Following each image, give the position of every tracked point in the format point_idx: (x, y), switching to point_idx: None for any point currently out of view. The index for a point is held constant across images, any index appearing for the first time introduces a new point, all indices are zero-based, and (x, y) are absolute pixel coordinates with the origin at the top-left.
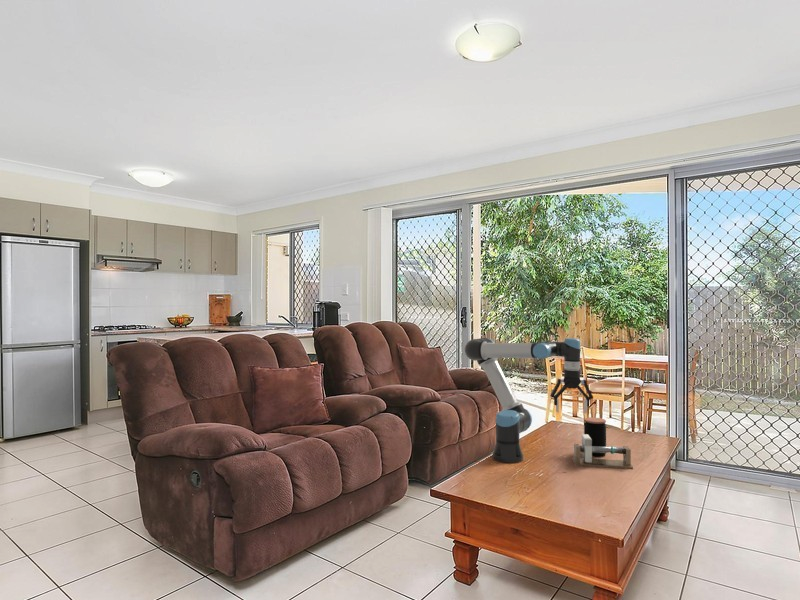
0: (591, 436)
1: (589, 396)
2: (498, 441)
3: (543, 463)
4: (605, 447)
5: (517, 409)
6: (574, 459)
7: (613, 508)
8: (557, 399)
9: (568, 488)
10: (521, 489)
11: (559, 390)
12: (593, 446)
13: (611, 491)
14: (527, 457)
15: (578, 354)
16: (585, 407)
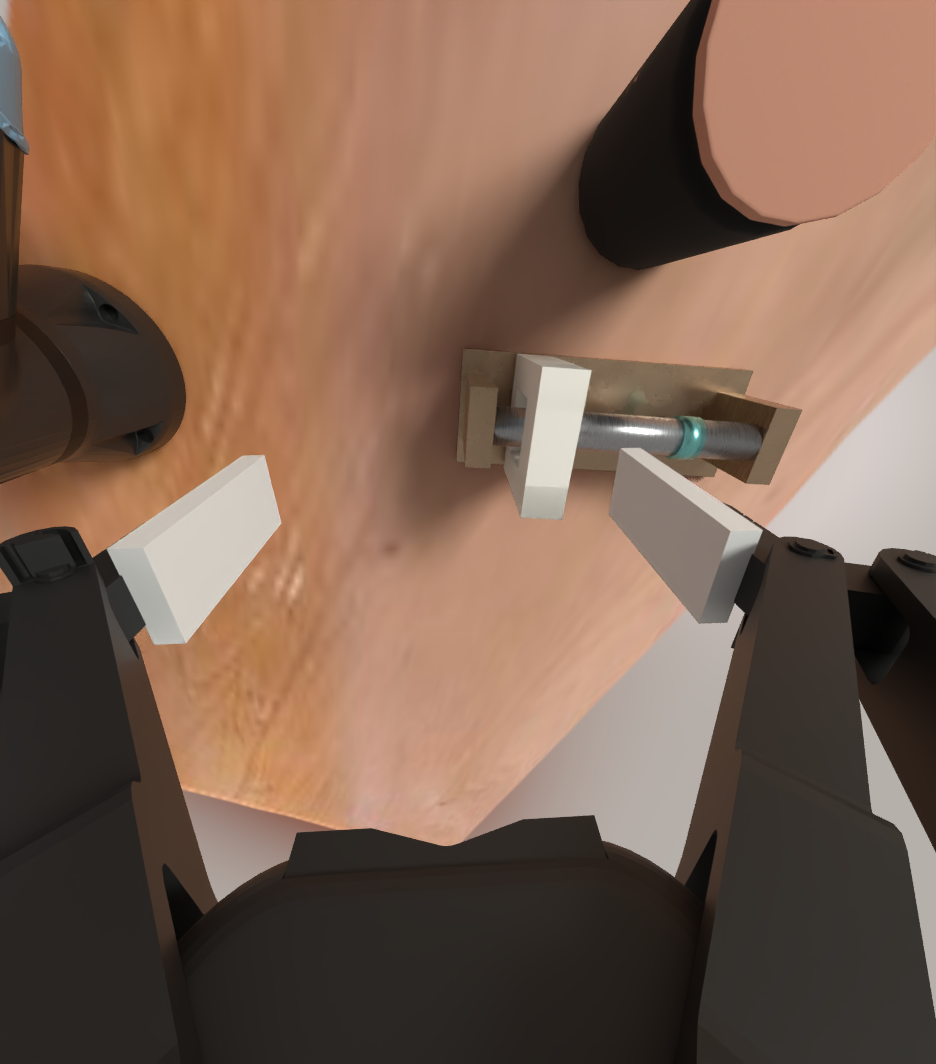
0: (653, 233)
1: (868, 611)
2: None
3: (301, 438)
4: (646, 448)
5: None
6: (466, 386)
7: (476, 774)
8: (160, 640)
9: (385, 687)
10: (242, 708)
11: (6, 723)
12: (579, 439)
13: (510, 693)
14: (202, 329)
15: None
16: (640, 546)
